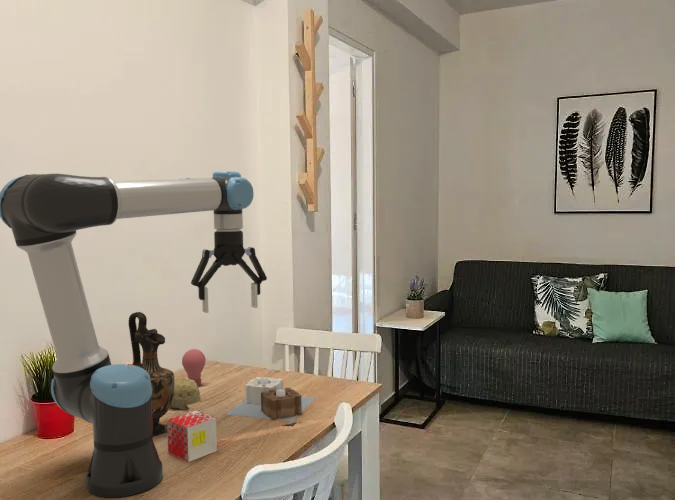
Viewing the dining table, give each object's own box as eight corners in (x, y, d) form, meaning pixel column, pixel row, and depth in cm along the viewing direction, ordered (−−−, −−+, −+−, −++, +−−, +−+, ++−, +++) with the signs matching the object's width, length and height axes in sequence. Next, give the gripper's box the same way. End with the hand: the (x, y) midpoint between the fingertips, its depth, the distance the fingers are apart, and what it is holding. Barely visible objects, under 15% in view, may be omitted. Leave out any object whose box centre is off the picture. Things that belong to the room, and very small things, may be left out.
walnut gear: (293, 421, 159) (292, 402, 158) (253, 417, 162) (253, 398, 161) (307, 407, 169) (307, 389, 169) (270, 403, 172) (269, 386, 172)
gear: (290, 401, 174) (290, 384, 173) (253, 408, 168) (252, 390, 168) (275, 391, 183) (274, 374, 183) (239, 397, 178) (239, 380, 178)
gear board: (292, 426, 159) (292, 398, 158) (225, 419, 164) (224, 392, 164) (316, 402, 177) (316, 377, 176) (255, 397, 183) (254, 372, 182)
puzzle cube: (188, 462, 139) (187, 427, 138) (168, 452, 144) (166, 419, 143) (217, 450, 145) (216, 417, 144) (196, 442, 150) (195, 410, 149)
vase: (149, 442, 150) (145, 320, 147) (115, 432, 156) (111, 315, 153) (185, 427, 159) (182, 311, 157) (152, 418, 166) (148, 307, 163)
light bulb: (180, 385, 194) (179, 348, 193) (203, 382, 197) (202, 345, 196) (185, 392, 188) (184, 353, 186) (208, 389, 190) (207, 350, 189)
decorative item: (201, 416, 177) (206, 383, 183) (192, 405, 169) (197, 370, 174) (169, 416, 178) (175, 383, 183) (158, 405, 170) (164, 371, 175)
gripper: (267, 228, 173) (268, 303, 175) (177, 231, 162) (180, 311, 164) (277, 229, 167) (279, 307, 169) (185, 232, 155) (187, 316, 157)
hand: (230, 309), depth 166 cm, fingers open, 13 cm apart
